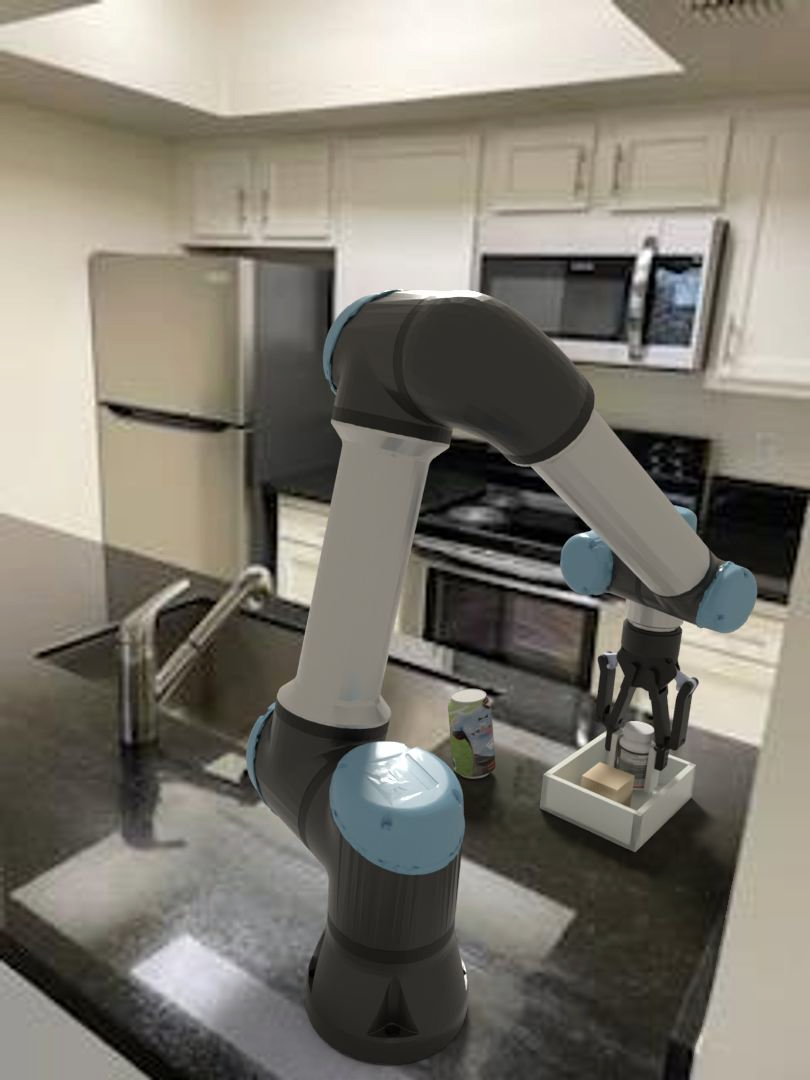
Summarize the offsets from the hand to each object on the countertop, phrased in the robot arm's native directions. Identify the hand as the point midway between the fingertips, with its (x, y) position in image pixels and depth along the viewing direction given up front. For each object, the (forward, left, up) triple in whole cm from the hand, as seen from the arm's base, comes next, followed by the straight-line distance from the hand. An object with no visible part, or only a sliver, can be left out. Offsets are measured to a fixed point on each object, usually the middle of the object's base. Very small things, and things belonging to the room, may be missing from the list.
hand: (632, 780), depth 116 cm
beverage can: (-12, +19, -2) cm, 23 cm away
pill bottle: (0, 0, -1) cm, 1 cm away
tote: (-4, 0, -2) cm, 4 cm away
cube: (-8, 0, -1) cm, 8 cm away
